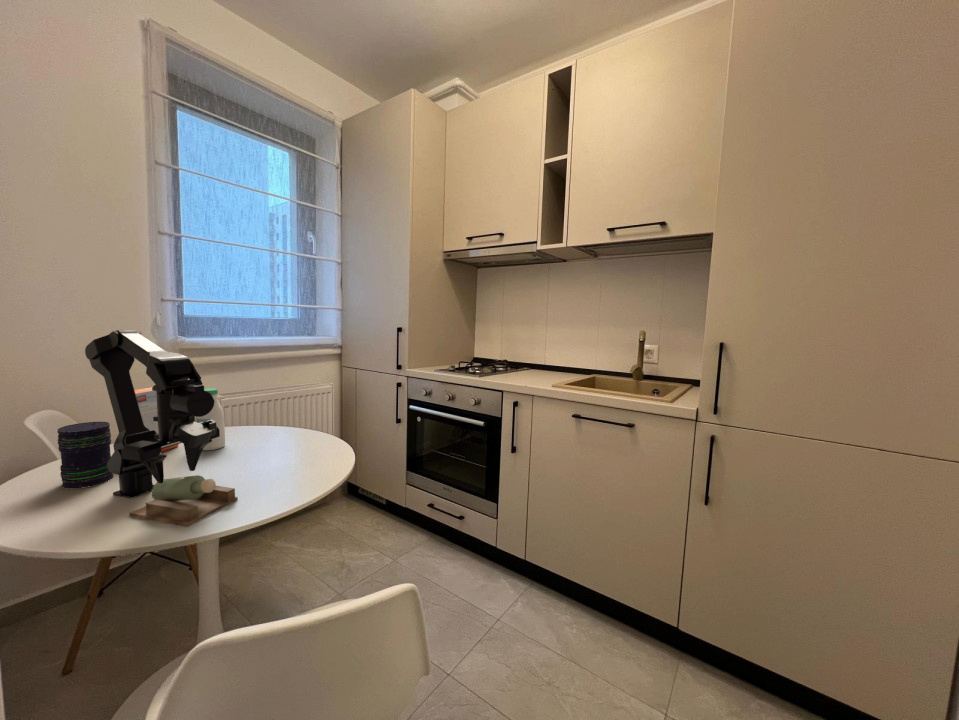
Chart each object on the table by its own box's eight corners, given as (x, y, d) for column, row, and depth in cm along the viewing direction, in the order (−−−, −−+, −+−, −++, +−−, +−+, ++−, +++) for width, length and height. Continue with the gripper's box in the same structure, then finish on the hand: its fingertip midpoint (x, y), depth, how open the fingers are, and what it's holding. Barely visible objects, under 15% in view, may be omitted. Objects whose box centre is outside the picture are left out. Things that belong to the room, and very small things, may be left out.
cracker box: (164, 445, 133) (161, 384, 131) (179, 446, 132) (176, 385, 130) (119, 459, 119) (115, 392, 117) (136, 461, 118) (131, 393, 116)
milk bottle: (220, 442, 138) (218, 386, 136) (228, 447, 133) (226, 389, 131) (194, 447, 132) (191, 389, 130) (202, 452, 127) (199, 392, 125)
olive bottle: (149, 484, 90) (196, 479, 86) (172, 475, 95) (217, 470, 91) (154, 506, 90) (201, 501, 86) (176, 496, 95) (221, 491, 91)
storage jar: (91, 489, 99) (86, 432, 98) (49, 489, 98) (44, 431, 97) (123, 473, 109) (120, 421, 107) (86, 473, 108) (82, 421, 107)
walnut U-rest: (129, 516, 87) (128, 502, 86) (185, 491, 99) (185, 479, 99) (186, 527, 83) (185, 512, 83) (237, 500, 96) (237, 487, 95)
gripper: (158, 424, 78) (163, 498, 80) (236, 405, 96) (238, 466, 98) (117, 419, 81) (122, 491, 83) (200, 402, 99) (203, 461, 101)
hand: (176, 476), depth 91 cm, fingers open, 7 cm apart
